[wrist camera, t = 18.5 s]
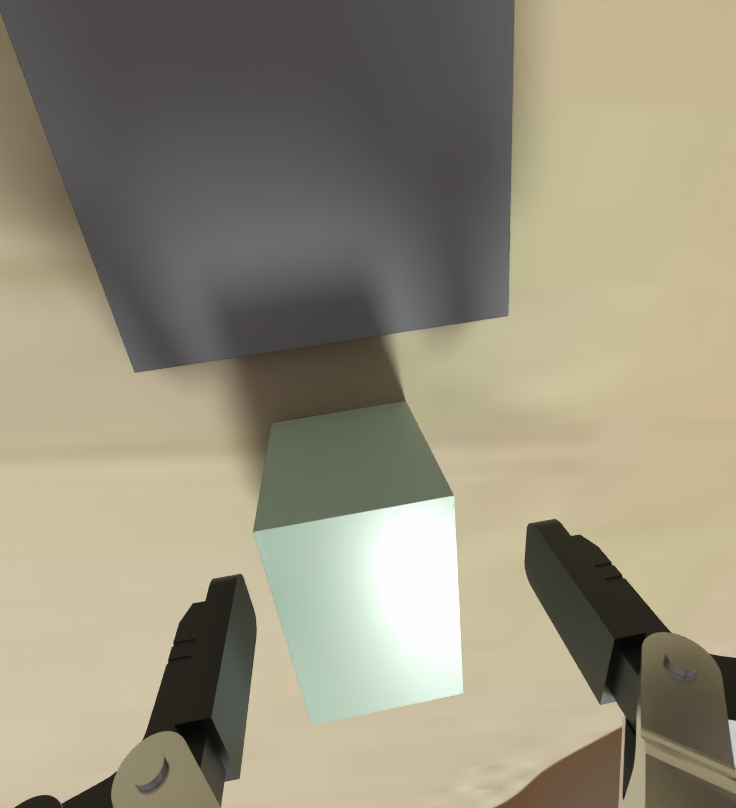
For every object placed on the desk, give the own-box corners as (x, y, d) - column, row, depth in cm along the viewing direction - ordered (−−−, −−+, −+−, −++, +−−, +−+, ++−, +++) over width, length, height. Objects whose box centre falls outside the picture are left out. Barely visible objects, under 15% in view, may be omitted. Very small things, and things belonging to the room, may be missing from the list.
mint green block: (272, 421, 16) (252, 532, 10) (405, 399, 16) (453, 495, 11) (310, 579, 19) (311, 725, 14) (419, 558, 20) (463, 693, 14)
